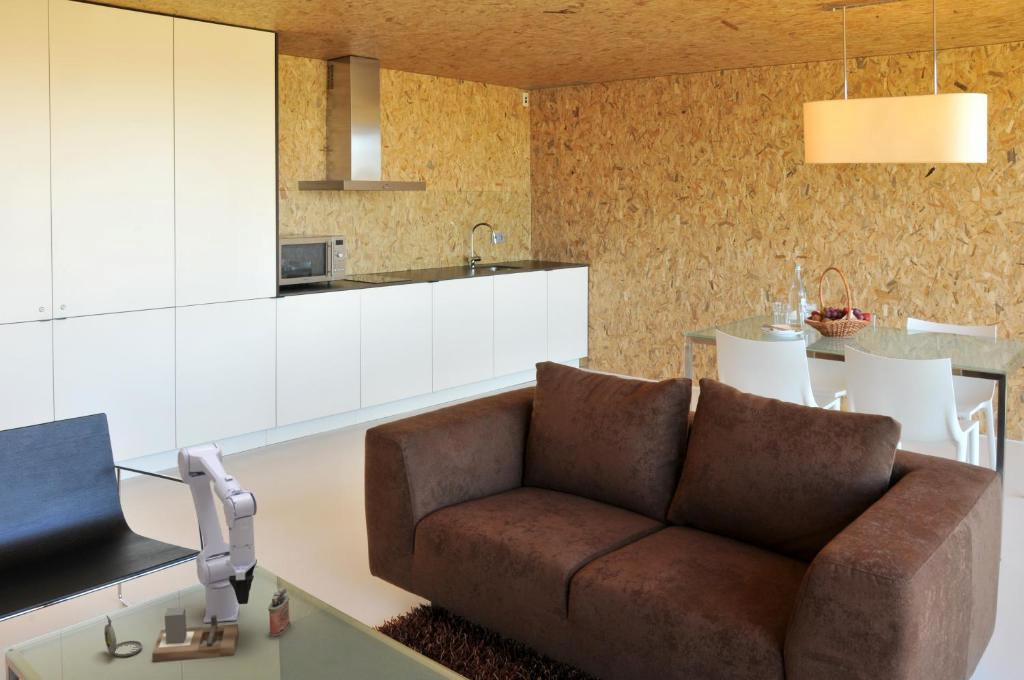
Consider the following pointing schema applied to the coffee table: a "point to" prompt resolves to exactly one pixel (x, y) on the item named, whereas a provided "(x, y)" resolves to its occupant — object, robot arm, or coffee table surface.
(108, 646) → the pocket watch
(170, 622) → the gray rectangular block
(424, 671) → the coffee table surface
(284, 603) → the lighter
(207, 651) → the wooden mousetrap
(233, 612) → the robot arm
